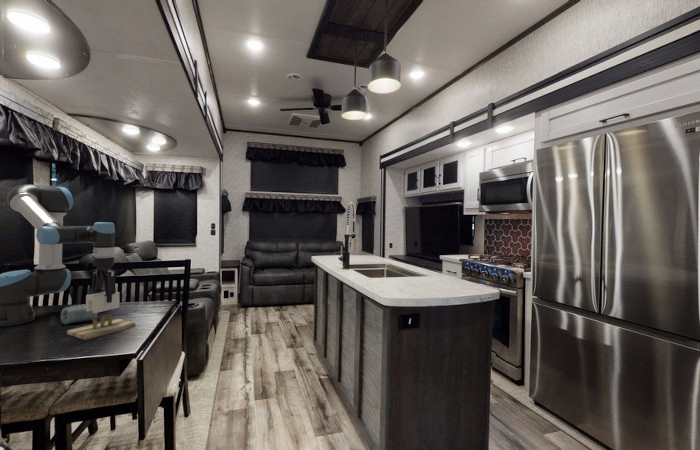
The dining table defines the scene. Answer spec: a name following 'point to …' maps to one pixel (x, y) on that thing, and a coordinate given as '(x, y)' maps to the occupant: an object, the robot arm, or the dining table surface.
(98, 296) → the white block
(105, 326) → the wooden peg board
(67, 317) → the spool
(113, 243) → the robot arm
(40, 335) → the dining table surface
